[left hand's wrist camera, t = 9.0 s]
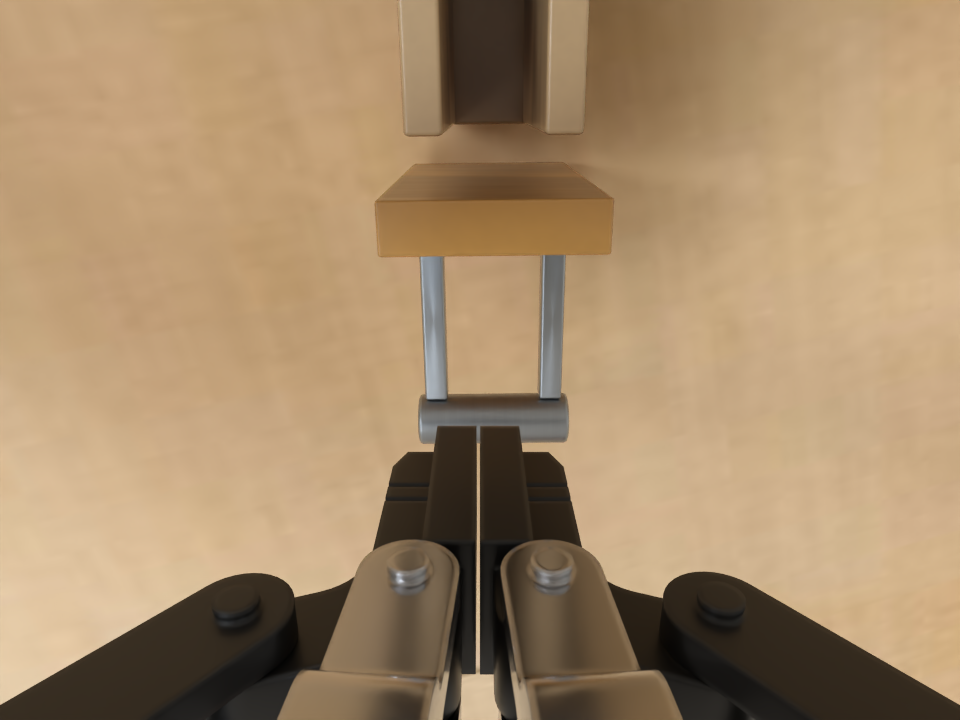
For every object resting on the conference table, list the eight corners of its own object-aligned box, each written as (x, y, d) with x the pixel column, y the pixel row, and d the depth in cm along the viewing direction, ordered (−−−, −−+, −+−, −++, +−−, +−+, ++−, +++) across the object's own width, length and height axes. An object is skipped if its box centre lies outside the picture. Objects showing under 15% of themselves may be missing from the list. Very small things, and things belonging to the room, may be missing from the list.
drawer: (557, 360, 25) (597, 492, 17) (422, 362, 25) (393, 494, 17) (581, -371, 18) (673, -801, 9) (390, -368, 18) (307, -795, 9)
